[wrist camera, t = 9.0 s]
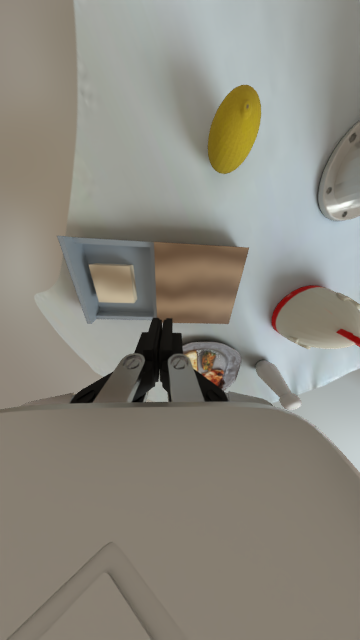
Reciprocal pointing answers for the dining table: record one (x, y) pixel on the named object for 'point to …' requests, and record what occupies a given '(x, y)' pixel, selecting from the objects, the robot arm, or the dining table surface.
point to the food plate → (214, 362)
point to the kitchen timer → (318, 318)
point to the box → (111, 252)
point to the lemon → (234, 129)
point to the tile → (114, 282)
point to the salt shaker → (277, 384)
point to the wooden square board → (197, 281)
